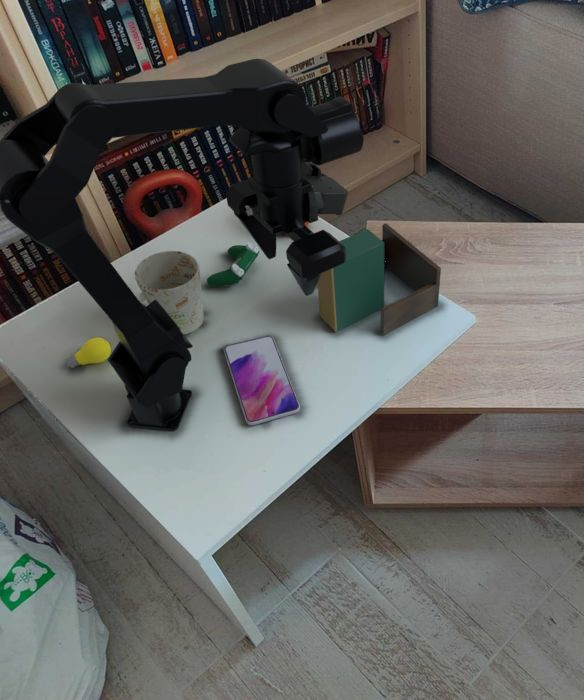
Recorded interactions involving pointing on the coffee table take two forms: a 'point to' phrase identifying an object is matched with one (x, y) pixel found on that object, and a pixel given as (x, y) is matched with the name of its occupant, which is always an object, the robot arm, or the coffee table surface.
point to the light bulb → (91, 353)
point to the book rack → (408, 280)
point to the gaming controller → (235, 266)
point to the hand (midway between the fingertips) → (290, 275)
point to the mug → (173, 287)
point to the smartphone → (261, 380)
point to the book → (353, 282)
